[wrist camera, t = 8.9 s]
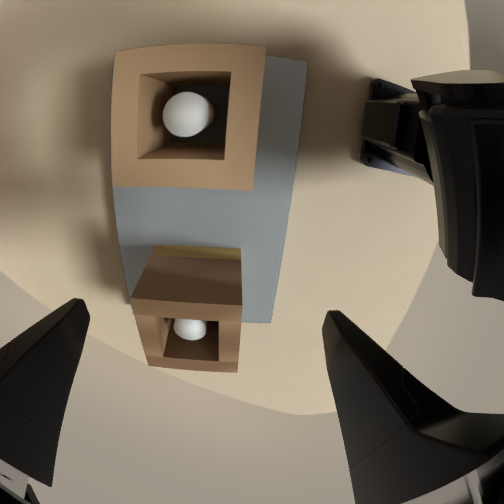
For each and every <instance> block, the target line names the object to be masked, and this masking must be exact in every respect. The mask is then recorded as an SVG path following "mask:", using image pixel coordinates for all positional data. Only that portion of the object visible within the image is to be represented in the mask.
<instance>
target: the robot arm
mask: <svg viewBox="0 0 504 504" xmlns="http://www.w3.org/2000/svg"><path fill="white" fill-rule="evenodd" d="M410 80H411V83H412V85H413V88H414V89H416V92H417V93H416V92H414V91H412V90H409V89H407V88H404V87H402V86H399V85H396V84H394V83H391V82H388V81H385V80H382V79H378V78H377V79H373V80H372V81H371V83H370V92H369V100H368V101H367V102H366V105H365V113H364V120H363V127H362V134H361V135H362V137H363V143H362V149H361V155H360V161H361V163H362V164H364V165H366V166H369V167H374V168H379V169H383V170H388V171H392V172H397V173H401V174H405V175H409V176H413V177H417V178H420V179H422V180H424V181H426V182H428V183H429V184H431V185H433V186H434V190H435V197H436V206H437V216H438V230H439V246H440V248H441V250H442V252H443V254H444V256H445V258H446V259H447V265H448V266H449V267H450V268H451V269H452V270H453V271H454V272H455V273H456V274H458V275H460V276H461V277H463V278H465V279H467V280H468V281H470V282H473V287H472V295H473V296H476V297H489V298H495V299H498V300H502V301H504V75H502V74H500V73H498V72H496V71H492V70H461V71H454V72H447V73H441V74H435V75H429V76H424V77H419V78H414V79H410ZM377 82H378V83H379V85H380V87H379V88H377V86H376V83H377ZM367 156H369V161H367V162H366V157H367ZM89 322H90V315H89V312H88V310H87V307H86V304H85V302H84V300H83V299H78V298H73V299H72V300H70V301H68V302H67V303H65V304H64V305H62V306H61V307H59V308H58V309H56V310H55V311H53V312H52V313H50V314H49V315H47V316H46V317H44V318H43V319H41V320H40V321H38V322H37V323H36V324H34V325H33V326H31V327H30V328H28V329H27V330H25V331H24V332H23V333H21V334H20V335H18V336H17V337H16V338H14V339H13V340H11V342H9V343H7V344H6V345H4V346H3V347H2V348H0V504H40V503H39V501H38V499H37V497H36V495H35V493H34V491H33V489H32V487H31V485H30V484H28V478H29V476H30V477H31V478H33V479H35V480H37V481H39V482H41V483H43V484H45V485H47V486H49V487H52V481H53V473H54V466H55V459H56V453H57V447H58V441H59V436H60V431H61V426H62V421H63V417H64V413H65V409H66V405H67V401H68V397H69V393H70V390H71V386H72V383H73V380H74V376H75V373H76V370H77V367H78V364H79V360H80V357H81V354H82V350H83V346H84V342H85V338H86V334H87V330H88V326H89ZM322 335H323V342H324V350H325V357H326V365H327V371H328V375H329V379H330V383H331V388H332V392H333V396H334V400H335V404H336V409H337V413H338V417H339V422H340V426H341V431H342V436H343V440H344V445H345V450H346V455H347V460H348V465H349V468H350V469H349V471H350V476H351V481H352V486H353V492H354V498H355V504H504V414H486V413H469V412H463V411H461V410H459V409H457V408H455V407H453V406H452V405H451V404H449V403H448V402H446V401H445V400H444V399H442V398H441V397H440V396H438V395H437V394H436V393H434V392H433V391H431V390H430V389H429V388H427V387H426V386H425V385H424V384H422V383H421V382H420V381H419V380H418V379H416V378H415V377H414V376H413V375H412V374H411V373H410V372H408V371H407V370H406V369H405V368H403V366H402V365H401V364H399V363H398V362H397V361H396V360H395V359H394V358H393V357H392V356H390V355H389V354H388V353H387V352H386V351H385V350H384V349H383V348H381V347H380V346H379V345H378V344H377V343H376V342H375V341H374V340H372V339H371V338H370V337H369V336H368V335H367V334H366V333H365V332H363V331H362V330H361V329H360V328H359V327H358V326H357V325H355V324H354V323H353V322H352V321H351V320H350V319H349V318H348V317H346V316H345V315H344V314H343V313H342V312H341V311H339V310H329V311H328V312H327V314H326V317H325V321H324V324H323V327H322Z"/></svg>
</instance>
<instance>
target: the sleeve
mask: <svg viewBox="0 0 504 504" xmlns="http://www.w3.org/2000/svg"><path fill="white" fill-rule="evenodd" d="M130 299H131V303H132V308H133V312H134V316H135V320H136V324H137V327H138V331H139V335H140V338H141V342H142V345H143V349H144V352H145V355H146V358H147V362H148V365H149V366H155V367H163V368H173V369H183V370H195V371H211V372H234V373H237V369H238V357H239V344H240V332H241V319H242V307H243V302H242V269H241V249H237V248H217V247H196V246H175V245H156V247H155V249H154V251H153V253H152V255H151V257H150V258H149V260H148V262H147V264H146V266H145V268H144V270H143V272H142V274H141V276H140V278H139V281H138V283H137V285H136V287H135V289H134V291H133V293H132V295H131V297H130ZM175 318H176V319H190V320H205V321H207V325H206V333H205V335H204V336H203V337H202V338H200V339H198V340H187V339H184V338H181V337H180V336H178V335H177V334H176V332H175V331H174V323H175Z"/></svg>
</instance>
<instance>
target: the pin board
mask: <svg viewBox="0 0 504 504" xmlns="http://www.w3.org/2000/svg"><path fill="white" fill-rule="evenodd" d="M307 65H308V62H307V61H302V60H296V59H290V58H283V57H275V56H267V55H266V46H256V45H243V44H220V43H196V44H174V45H161V46H151V47H143V48H135V49H129V50H123V51H117V52H116V54H115V60H114V64H113V74H112V88H111V110H110V151H111V173H112V188H113V199H114V209H115V218H116V226H117V233H118V240H119V247H120V253H121V259H122V265H123V270H124V275H125V280H126V285H127V290H128V295H129V299H130V297H131V295H132V293H133V291H134V289H135V287H136V285H137V283H138V281H139V278H140V276H141V274H142V272H143V270H144V268H145V266H146V264H147V262H148V260H149V258H150V257H151V255H152V253H153V251H154V249H155V247H156V245H175V246H196V247H217V248H237V249H241V269H242V302H243V307H242V319H241V322H245V323H271V319H272V313H273V308H274V302H275V296H276V291H277V285H278V279H279V273H280V267H281V261H282V255H283V249H284V243H285V236H286V230H287V224H288V217H289V210H290V203H291V197H292V190H293V182H294V175H295V168H296V160H297V153H298V145H299V137H300V129H301V121H302V112H303V103H304V94H305V85H306V75H307ZM130 304H131V308H132V303H131V299H130ZM132 312H133V308H132ZM133 314H134V312H133ZM206 325H207V321H205V320H190V319H176V318H175V323H174V331H175V332H176V334H177V335H178V336H180V337H181V338H184V339H187V340H198V339H200V338H202V337H203V336H204V335H205V333H206Z"/></svg>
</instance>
